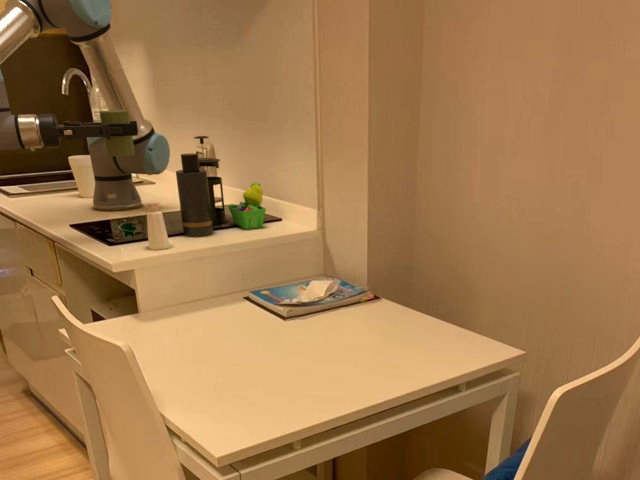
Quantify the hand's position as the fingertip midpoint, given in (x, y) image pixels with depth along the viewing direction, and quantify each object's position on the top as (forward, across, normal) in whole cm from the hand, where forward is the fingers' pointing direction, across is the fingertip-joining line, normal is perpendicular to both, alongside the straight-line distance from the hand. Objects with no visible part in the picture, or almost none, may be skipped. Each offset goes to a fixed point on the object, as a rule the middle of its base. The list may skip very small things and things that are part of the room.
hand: (136, 128), depth 175 cm
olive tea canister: (-5, 0, -6) cm, 8 cm away
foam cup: (-22, -76, -27) cm, 84 cm away
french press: (+16, -15, -27) cm, 35 cm away
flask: (+12, +1, -26) cm, 29 cm away
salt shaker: (+1, +15, -27) cm, 31 cm away
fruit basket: (+27, -6, -27) cm, 39 cm away
